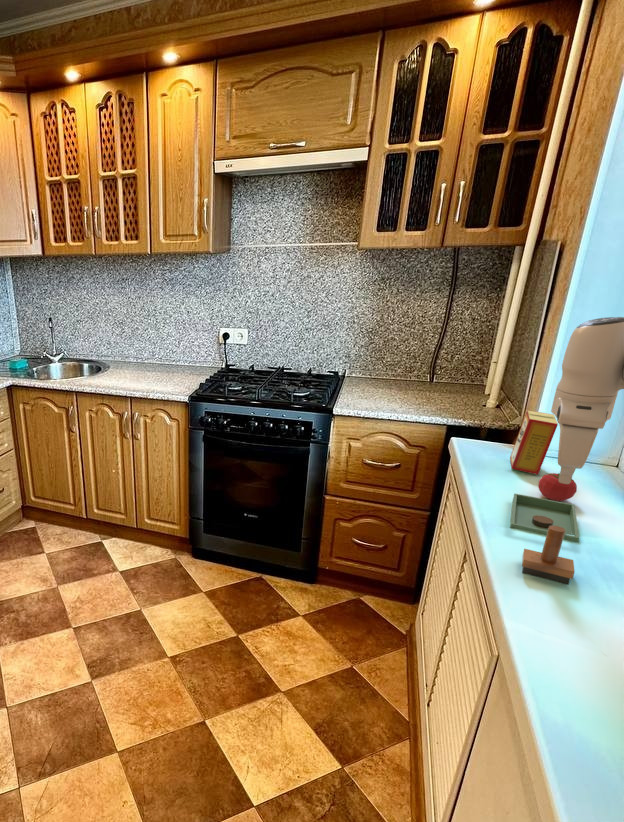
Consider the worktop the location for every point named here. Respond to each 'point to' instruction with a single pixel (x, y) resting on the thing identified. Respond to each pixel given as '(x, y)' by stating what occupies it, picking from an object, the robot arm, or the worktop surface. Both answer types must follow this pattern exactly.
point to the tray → (554, 510)
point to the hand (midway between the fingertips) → (564, 474)
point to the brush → (549, 559)
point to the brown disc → (542, 521)
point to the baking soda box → (533, 441)
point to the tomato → (556, 487)
